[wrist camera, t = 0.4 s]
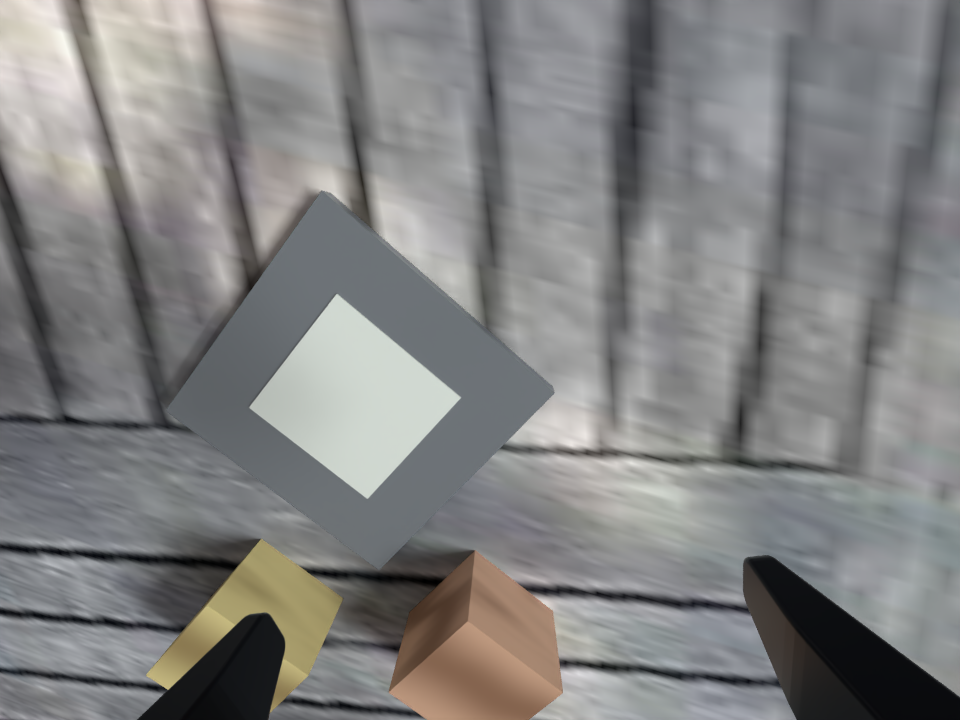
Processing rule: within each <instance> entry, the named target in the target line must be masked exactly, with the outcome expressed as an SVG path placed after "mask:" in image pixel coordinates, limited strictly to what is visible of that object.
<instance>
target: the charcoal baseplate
mask: <svg viewBox="0 0 960 720" xmlns="http://www.w3.org/2000/svg"><path fill="white" fill-rule="evenodd" d="M553 394H554V389H553V386H551V385H550V384H549V383H548V382H547V381H546V380H545V379H543V378H542V377H541V376H540V375H539V374H538V373H537V372H535V371H534V370H533V369H532V368H531V367H530V366H529V365H527V364H526V363H525V362H524V361H523V360H522V359H521V358H519V357H518V356H517V355H516V354H515V353H514V352H512V351H511V350H510V349H509V348H508V347H507V346H506V345H504V344H503V343H502V342H501V341H500V340H499V339H498V338H496V337H495V336H494V335H493V334H492V333H491V332H490V331H488V330H487V329H486V328H485V327H484V326H483V325H482V324H480V323H479V322H478V321H477V320H476V319H475V318H473V317H472V316H471V315H470V314H469V313H468V312H467V311H465V310H464V309H463V308H462V307H461V306H460V305H459V304H457V303H456V302H455V301H454V300H453V299H452V298H451V297H449V296H448V295H447V294H446V293H445V292H444V291H442V290H441V289H440V288H439V287H438V286H437V285H436V284H434V283H433V282H432V281H431V280H430V279H429V278H428V277H426V276H425V275H424V274H423V273H422V272H421V271H420V270H418V269H417V268H416V267H415V266H414V265H413V264H412V263H410V262H409V261H408V260H407V259H406V258H405V257H403V256H402V255H401V254H400V253H399V252H398V251H397V250H395V249H394V248H393V247H392V246H391V245H390V244H389V243H387V242H386V241H385V240H384V239H383V238H382V237H381V236H379V235H378V234H377V233H376V232H375V231H374V230H373V229H371V228H370V227H369V226H368V225H367V224H366V223H364V222H363V221H362V220H361V219H360V218H359V217H358V216H356V215H355V214H354V213H353V212H352V211H351V210H350V209H348V208H347V207H346V206H345V205H344V204H343V203H342V202H340V201H339V200H338V199H337V198H336V197H335V196H334V195H332V194H331V193H329V192H325V191H321V192H320V194H319V195H318V197H317V198H316V200H315V201H314V202H313V204H312V205H311V207H310V208H309V209H308V211H307V212H306V214H305V215H304V216H303V218H302V219H301V221H300V222H299V223H298V225H297V226H296V228H295V229H294V230H293V232H292V233H291V235H290V236H289V238H288V239H287V240H286V242H285V243H284V245H283V246H282V247H281V249H280V250H279V252H278V253H277V254H276V256H275V257H274V259H273V260H272V261H271V263H270V264H269V266H268V267H267V268H266V270H265V271H264V273H263V274H262V276H261V277H260V278H259V280H258V281H257V283H256V284H255V285H254V287H253V288H252V290H251V291H250V292H249V294H248V295H247V297H246V298H245V299H244V301H243V302H242V304H241V305H240V306H239V308H238V309H237V311H236V312H235V314H234V315H233V316H232V318H231V319H230V321H229V322H228V323H227V325H226V326H225V328H224V329H223V330H222V332H221V333H220V335H219V336H218V337H217V339H216V340H215V342H214V343H213V344H212V346H211V347H210V349H209V350H208V352H207V353H206V354H205V356H204V357H203V359H202V360H201V361H200V363H199V364H198V366H197V367H196V368H195V370H194V371H193V373H192V374H191V375H190V377H189V378H188V380H187V381H186V382H185V384H184V385H183V387H182V388H181V390H180V391H179V392H178V394H177V395H176V397H175V398H174V399H173V401H172V402H171V404H170V405H169V406H168V408H167V409H166V412H168V413H169V414H170V415H172V416H173V417H174V418H176V419H177V420H178V421H180V422H181V423H182V424H184V425H185V426H186V427H188V428H189V429H190V430H192V431H193V432H194V433H196V434H197V435H198V436H200V437H201V438H202V439H204V440H205V441H207V442H208V443H209V444H211V445H212V446H213V447H215V448H216V449H217V450H219V451H220V452H221V453H223V454H224V455H225V456H227V457H228V458H229V459H231V460H232V461H233V462H235V463H236V464H237V465H239V466H240V467H241V468H243V469H244V470H245V471H247V472H248V473H249V474H251V475H252V476H253V477H255V478H256V479H257V480H259V481H260V482H261V483H263V484H264V485H265V486H267V487H268V488H269V489H271V490H272V491H273V492H275V493H276V494H277V495H279V496H280V497H281V498H283V499H284V500H285V501H287V502H288V503H289V504H291V505H292V506H293V507H295V508H296V509H297V510H299V511H300V512H301V513H303V514H304V515H306V516H307V517H308V518H310V519H311V520H312V521H314V522H315V523H316V524H318V525H319V526H320V527H322V528H323V529H324V530H326V531H327V532H328V533H330V534H331V535H332V536H334V537H335V538H336V539H338V540H339V541H340V542H342V543H343V544H344V545H346V546H347V547H348V548H350V549H351V550H352V551H354V552H355V553H356V554H358V555H359V556H360V557H362V558H363V559H364V560H366V561H367V562H368V563H370V564H371V565H372V566H374V567H375V568H376V569H378V570H380V569H381V568H382V567H383V566H384V565H385V564H386V563H387V562H388V561H389V560H390V559H391V558H392V557H393V556H394V555H395V554H396V553H397V552H398V551H399V550H400V549H401V548H402V547H403V546H404V545H405V544H406V542H407V541H408V540H409V539H410V538H411V537H412V536H413V535H414V534H415V533H416V532H417V531H418V530H419V529H420V528H421V527H422V526H423V525H424V524H425V523H426V522H427V521H428V520H429V519H430V518H431V517H432V516H433V515H434V514H435V513H436V512H437V511H438V510H439V509H440V508H441V507H442V506H443V505H444V504H445V503H446V502H447V501H448V500H449V499H450V498H451V497H452V496H453V495H454V494H455V493H456V492H457V491H458V490H459V489H460V488H461V487H462V486H463V485H464V484H465V483H466V482H467V481H468V480H469V479H470V478H471V477H472V476H473V475H474V474H475V473H476V472H477V471H478V470H479V469H480V468H481V467H482V466H483V465H484V464H485V463H486V462H487V461H488V460H489V459H490V458H491V457H492V456H493V455H494V454H495V453H496V452H497V451H498V450H499V449H500V448H501V447H502V446H503V445H504V444H505V443H506V442H507V441H508V440H509V439H510V438H511V437H512V436H513V435H514V434H515V433H516V432H517V431H518V430H519V429H520V428H521V427H522V425H523V424H524V423H525V422H526V421H527V420H528V419H529V418H530V417H531V416H532V415H533V414H534V413H535V412H536V411H537V410H538V409H539V408H540V407H541V406H542V405H543V404H544V403H545V402H546V401H547V400H548V399H549V398H550V397H551V396H552V395H553Z"/></svg>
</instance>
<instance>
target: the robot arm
mask: <svg viewBox="0 0 960 720" xmlns="http://www.w3.org/2000/svg"><path fill="white" fill-rule="evenodd" d="M743 593H744V597H745V601H746V604H747V606H748V609H749V611H750V613H751V616H752V618H753V621H754V623H755V625H756V628H757V630H758V632H759V635H760V637H761V640H762V642H763V644H764V647H765V649H766V652H767V654H768V656H769V659H770V661H771V663H772V666H773V668H774V671H775V673H776V675H777V678H778V680H779V682H780V685H781V687H782V689H783V692H784V694H785V696H786V699H787V701H788V703H789V705H790V707H791V709H792V711H793V713H794V715H795V717H796V719H797V720H960V697H959V696H958V695H956V694H955V693H954V692H952V691H951V690H950V689H948V688H947V687H946V686H944V685H943V684H942V683H940V682H939V681H938V680H936V679H935V678H934V677H932V676H931V675H930V674H928V673H927V672H926V671H924V670H923V669H922V668H920V667H919V666H918V665H916V664H915V663H914V662H912V661H911V660H910V659H908V658H907V657H906V656H904V655H903V654H902V653H900V652H899V651H898V650H896V649H895V648H894V647H892V646H891V645H890V644H888V643H887V642H886V641H884V640H883V639H882V638H880V637H879V636H878V635H876V634H875V633H874V632H872V631H871V630H870V629H868V628H867V627H866V626H864V625H863V624H862V623H860V622H859V621H858V620H856V619H855V618H854V617H852V616H851V615H850V614H848V613H847V612H846V611H844V610H843V609H842V608H840V607H839V606H838V605H836V604H835V603H834V602H832V601H831V600H830V599H828V598H827V597H826V596H824V595H823V594H822V593H820V592H819V591H818V590H816V589H815V588H814V587H812V586H811V585H810V584H808V583H807V582H806V581H804V580H803V579H802V578H800V577H799V576H798V575H796V574H795V573H794V572H792V571H791V570H790V569H789V568H787V567H786V566H785V565H783V564H782V563H781V562H779V561H778V560H777V559H775V558H773V557H771V556H768V555H762V556H754V557H747V558H745V560H744V563H743ZM284 653H285V638H284V636H283V634H282V633H281V631H280V629H279V628H278V626H277V624H276V623H275V621H274V620H273V618H272V616H271V615H270V614H268V613H266V612H263V613H255V614H249V615H247V616H245V617H244V618H243V619H242V620H241V621H240V622H238V623H237V624H236V625H235V626H234V627H233V628H232V629H231V630H230V631H229V632H228V633H227V634H226V635H225V636H224V637H223V638H222V639H221V640H220V641H219V642H218V643H217V644H216V645H214V646H213V647H212V648H211V649H210V650H209V651H208V652H207V653H206V654H205V655H204V656H203V657H202V658H201V659H200V660H199V661H198V662H197V663H196V664H195V665H194V666H193V667H192V668H191V669H189V670H188V671H187V672H186V673H185V674H184V675H183V676H182V677H181V678H180V679H179V680H178V681H177V682H176V683H175V684H174V685H173V686H172V687H171V688H170V689H169V690H168V691H167V692H166V693H164V694H163V695H162V696H161V697H160V698H159V699H158V700H157V701H156V702H155V703H154V704H153V705H152V706H151V707H150V708H149V709H148V710H147V711H146V712H145V713H144V714H143V715H142V716H141V717H139V718H138V719H137V720H268V718H269V714H270V710H271V706H272V702H273V698H274V694H275V689H276V685H277V681H278V677H279V673H280V669H281V665H282V661H283V657H284Z"/></svg>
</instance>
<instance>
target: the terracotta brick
mask: <svg viewBox="0 0 960 720" xmlns="http://www.w3.org/2000/svg"><path fill="white" fill-rule="evenodd" d="M389 693H390V694H392V695H393V696H394V697H396V698H397V699H399V700H400V701H401V702H403V703H404V704H406V705H407V706H409V707H410V708H411V709H413V710H414V711H416V712H417V713H418V714H420V715H421V716H423V717H424V718H426V719H427V720H529V719H530V718H531V717H533V716H534V715H535V714H537V713H538V712H539V711H540V710H542V709H543V708H544V707H546V706H547V705H548V704H549V703H551V702H552V701H553V700H555V699H556V698H557V697H558V696H560V695H561V694H562V693H563V689H562V681H561V673H560V665H559V657H558V649H557V641H556V633H555V625H554V617H553V611H552V610H551V609H549V608H548V607H547V606H546V605H544V604H543V603H542V602H541V601H539V600H538V599H537V598H535V597H534V596H533V595H532V594H530V593H529V592H528V591H527V590H525V589H524V588H523V587H521V586H520V585H519V584H518V583H516V582H515V581H514V580H512V579H511V578H510V577H509V576H507V575H506V574H505V573H504V572H502V571H501V570H500V569H498V568H497V567H496V566H495V565H493V564H492V563H491V562H489V561H488V560H487V559H486V558H484V557H483V556H482V555H481V554H479V553H478V552H477V551H474V552H473V553H472V554H471V555H470V556H469V557H467V558H466V559H465V560H464V561H463V562H462V563H461V564H460V565H459V566H458V567H457V568H456V569H455V570H454V571H453V572H452V573H451V574H449V575H448V576H447V577H446V578H445V579H444V580H443V581H442V582H441V583H440V584H439V585H438V586H437V587H436V588H435V589H434V590H433V591H432V592H430V593H429V594H428V595H427V596H426V597H425V598H424V599H423V600H422V601H421V602H420V603H419V604H418V605H417V606H416V607H415V608H414V609H412V610H411V611H410V612H409V616H408V620H407V624H406V627H405V631H404V635H403V639H402V643H401V646H400V650H399V654H398V658H397V662H396V666H395V669H394V673H393V677H392V681H391V685H390V689H389Z"/></svg>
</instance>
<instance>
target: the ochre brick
mask: <svg viewBox="0 0 960 720" xmlns="http://www.w3.org/2000/svg"><path fill="white" fill-rule="evenodd" d="M342 600H343V598H342V597H341V596H339V595H338V594H336V593H335V592H334V591H332V590H331V589H330V588H328V587H327V586H325V585H324V584H323V583H321V582H320V581H319V580H317V579H316V578H314V577H313V576H312V575H310V574H309V573H308V572H306V571H305V570H303V569H302V568H301V567H299V566H298V565H297V564H295V563H294V562H292V561H291V560H290V559H288V558H287V557H286V556H284V555H283V554H281V553H280V552H279V551H277V550H276V549H275V548H273V547H272V546H270V545H269V544H268V543H266V542H265V541H264V540H262V539H261V540H260V541H259V542H258V543H257V544H256V546H255V547H254V548H253V549H252V550H251V551H250V552H249V554H248V555H247V556H246V557H245V558H244V559H243V561H242V562H241V563H240V564H239V565H238V566H237V567H236V569H235V570H234V571H233V572H232V573H231V574H230V576H229V577H228V578H227V579H226V580H225V581H224V582H223V584H222V585H221V586H220V587H219V588H218V589H217V591H216V592H215V593H214V594H213V595H212V596H211V597H210V599H209V600H208V601H207V602H206V603H205V605H204V606H203V607H202V608H201V609H200V611H199V612H198V613H197V614H196V615H195V617H194V618H193V619H192V620H191V621H190V623H189V624H188V625H187V626H186V628H185V629H184V630H183V631H182V632H181V634H180V635H179V636H178V637H177V638H176V640H175V641H174V642H173V643H172V644H171V646H170V647H169V648H168V649H167V650H166V652H165V653H164V654H163V655H162V656H161V658H160V659H159V660H158V661H157V662H156V664H155V665H154V666H153V667H152V669H151V670H150V671H149V672H148V673H147V675H146V676H148V677H149V678H151V679H152V680H154V681H155V682H157V683H158V684H160V685H161V686H163V687H165V688H166V689H168V690H169V689H170V688H171V687H172V686H173V685H174V684H175V683H176V682H177V681H178V680H179V679H180V678H181V677H182V676H183V675H184V674H185V673H186V672H187V671H188V670H189V669H191V668H192V667H193V666H194V665H195V664H196V663H197V662H198V661H199V660H200V659H201V658H202V657H203V656H204V655H205V654H206V653H207V652H208V651H209V650H210V649H211V648H212V647H213V646H214V645H216V644H217V643H218V642H219V641H220V640H221V639H222V638H223V637H224V636H225V635H226V634H227V633H228V632H229V631H230V630H231V629H232V628H233V627H234V626H235V625H236V624H237V623H238V622H240V621H241V620H242V619H243V618H244V617H245V616H247V615H249V614H255V613H263V612H266V613H268V614H270V615H271V616H272V618H273V620H274V621H275V623H276V624H277V626H278V628H279V629H280V631H281V633H282V634H283V636H284V638H285V653H284V657H283V661H282V665H281V669H280V673H279V677H278V681H277V685H276V689H275V694H274V698H273V702H272V706H271V710H270V712H271V711H272V710H273V709H274V708H276V707H277V706H278V705H279V704H280V703H281V702H282V701H283V700H284V699H285V698H286V697H287V696H288V695H289V694H290V693H291V692H292V691H293V690H294V689H295V688H296V687H297V686H298V685H299V684H300V683H301V682H302V681H303V680H304V679H305V678H306V677H307V676H308V675H309V673H310V671H311V668H312V666H313V664H314V662H315V660H316V657H317V655H318V653H319V651H320V649H321V646H322V644H323V642H324V640H325V638H326V635H327V633H328V631H329V629H330V627H331V625H332V622H333V620H334V618H335V616H336V614H337V611H338V609H339V607H340V605H341V603H342Z"/></svg>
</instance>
